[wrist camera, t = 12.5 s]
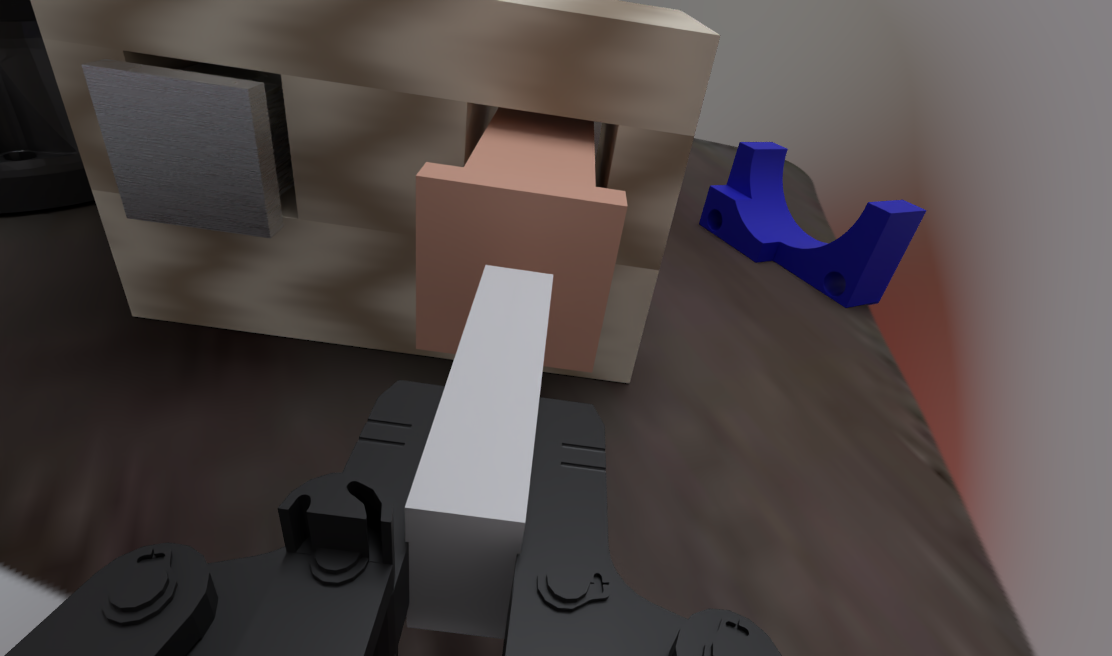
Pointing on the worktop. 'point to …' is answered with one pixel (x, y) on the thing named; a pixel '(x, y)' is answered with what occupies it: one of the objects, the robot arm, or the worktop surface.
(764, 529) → the worktop surface
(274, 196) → the grey plug
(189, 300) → the housing
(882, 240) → the blue curved cradle
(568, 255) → the terracotta plug
